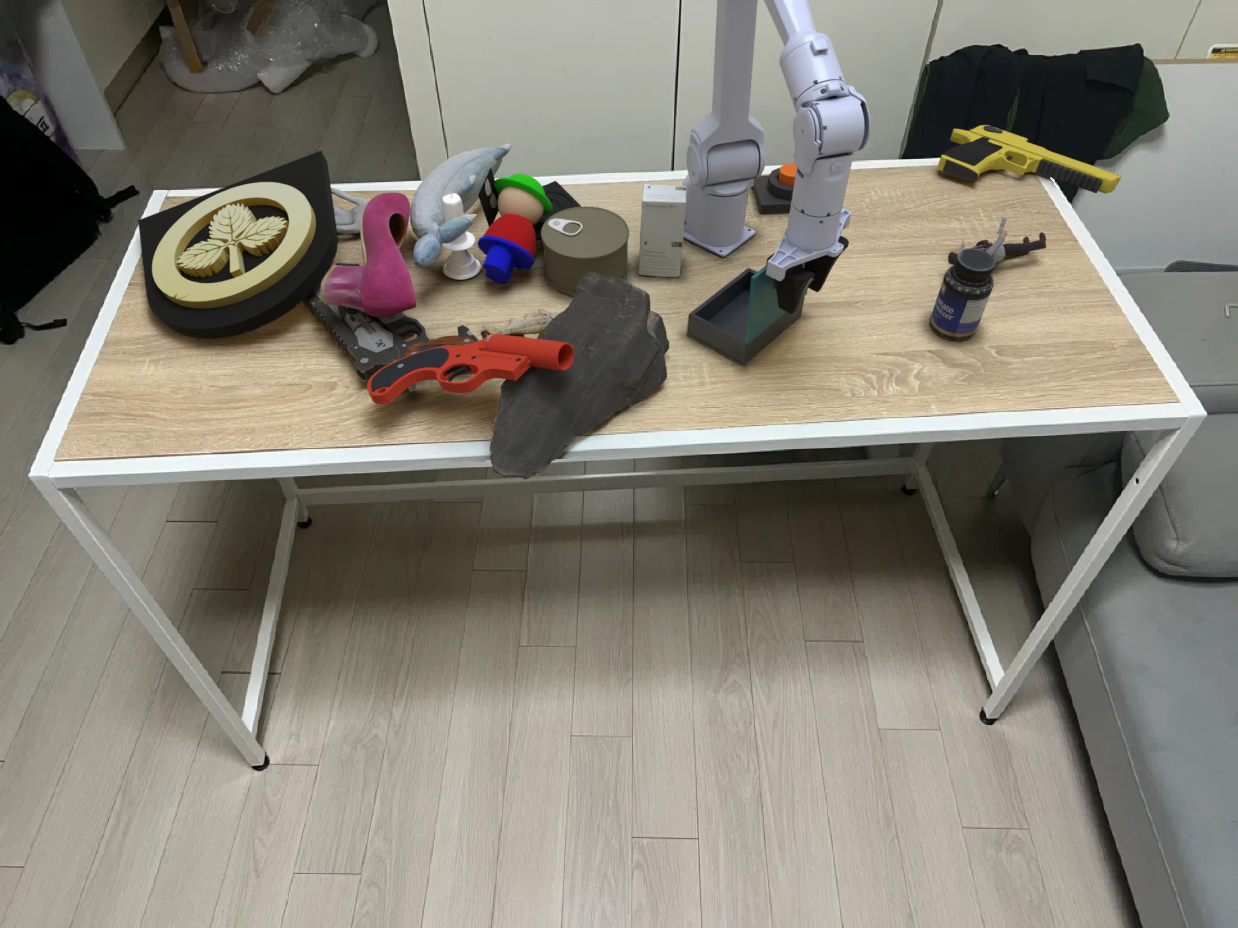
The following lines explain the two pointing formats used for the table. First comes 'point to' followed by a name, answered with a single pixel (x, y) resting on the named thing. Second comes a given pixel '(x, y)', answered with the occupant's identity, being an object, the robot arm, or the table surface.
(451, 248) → the candle
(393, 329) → the fictional weapon
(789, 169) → the button
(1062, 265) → the table surface
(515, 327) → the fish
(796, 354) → the table surface
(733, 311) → the dark gray box base
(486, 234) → the toy figure
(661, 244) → the cosmetic box
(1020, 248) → the action figure
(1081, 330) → the table surface
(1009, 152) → the handgun
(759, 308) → the teal flat panel
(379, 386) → the flare gun
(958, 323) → the pill bottle
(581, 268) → the can
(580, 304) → the stone
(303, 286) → the decorative plaque
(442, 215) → the sculpture
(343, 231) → the figurine
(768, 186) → the block
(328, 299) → the high heel
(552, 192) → the light switch
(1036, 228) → the table surface
